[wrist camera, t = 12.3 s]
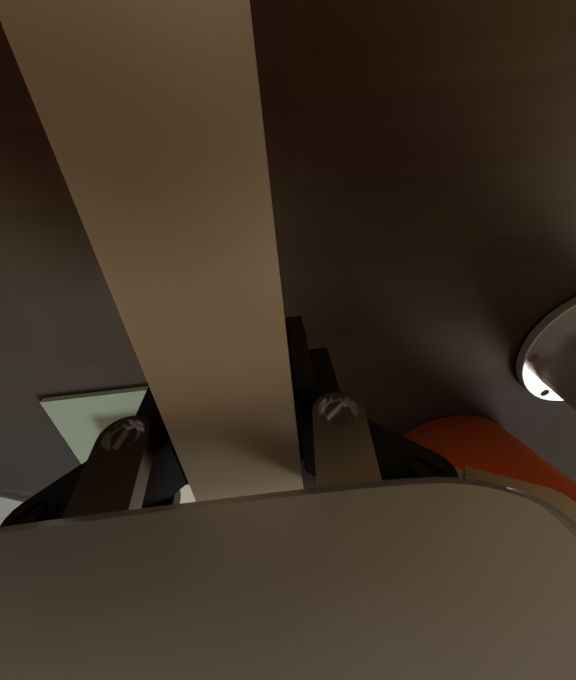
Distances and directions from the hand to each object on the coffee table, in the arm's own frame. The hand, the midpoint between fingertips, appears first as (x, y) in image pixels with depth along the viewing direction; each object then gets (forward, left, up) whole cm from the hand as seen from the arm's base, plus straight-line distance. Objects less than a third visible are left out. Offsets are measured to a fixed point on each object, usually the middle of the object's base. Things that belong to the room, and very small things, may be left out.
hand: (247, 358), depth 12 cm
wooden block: (0, 0, -1) cm, 1 cm away
